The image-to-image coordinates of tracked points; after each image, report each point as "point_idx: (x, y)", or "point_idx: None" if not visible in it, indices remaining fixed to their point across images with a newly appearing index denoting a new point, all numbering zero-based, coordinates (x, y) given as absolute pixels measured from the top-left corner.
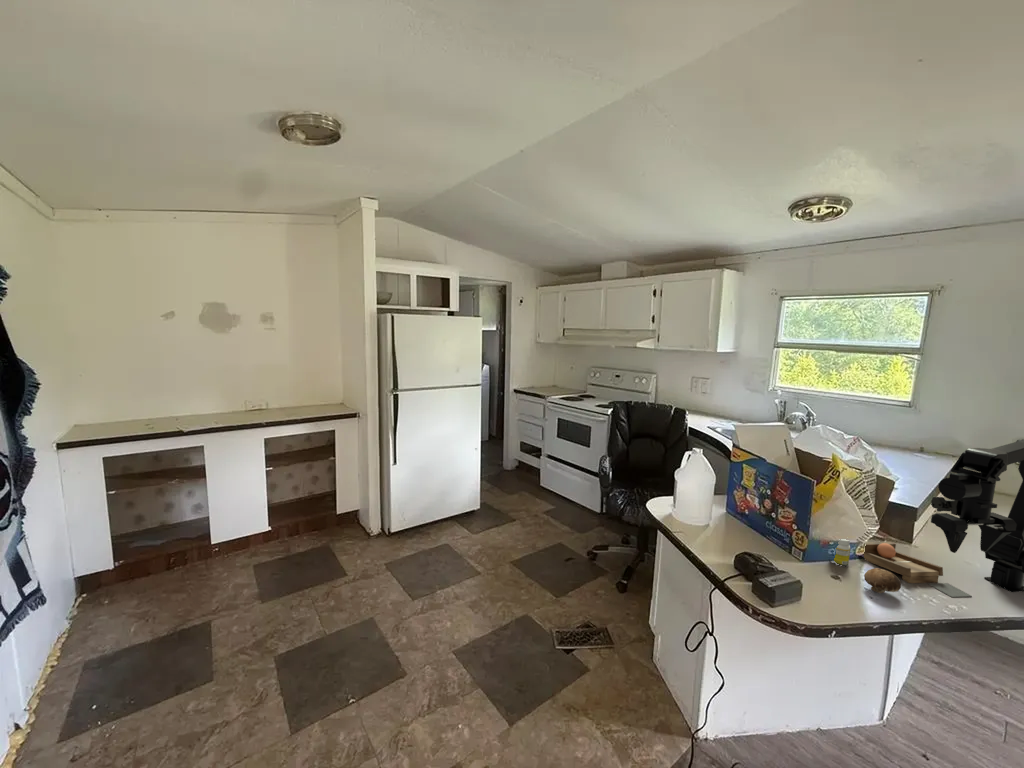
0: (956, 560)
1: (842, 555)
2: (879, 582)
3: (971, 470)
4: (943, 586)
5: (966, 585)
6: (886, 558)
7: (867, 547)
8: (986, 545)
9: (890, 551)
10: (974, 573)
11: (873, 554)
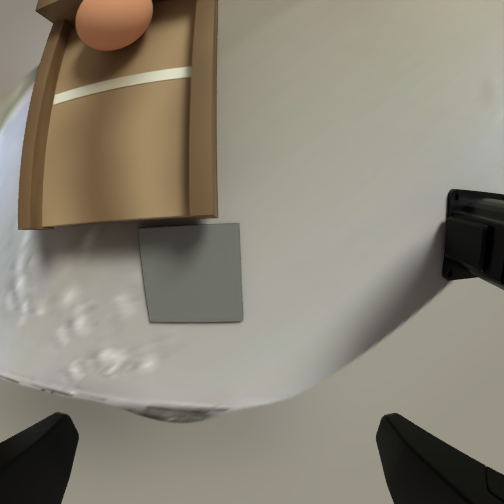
0: (469, 69)
1: None
2: None
3: None
4: (187, 251)
5: (324, 233)
6: None
7: (59, 8)
8: (400, 484)
9: (91, 40)
10: (452, 152)
11: None
